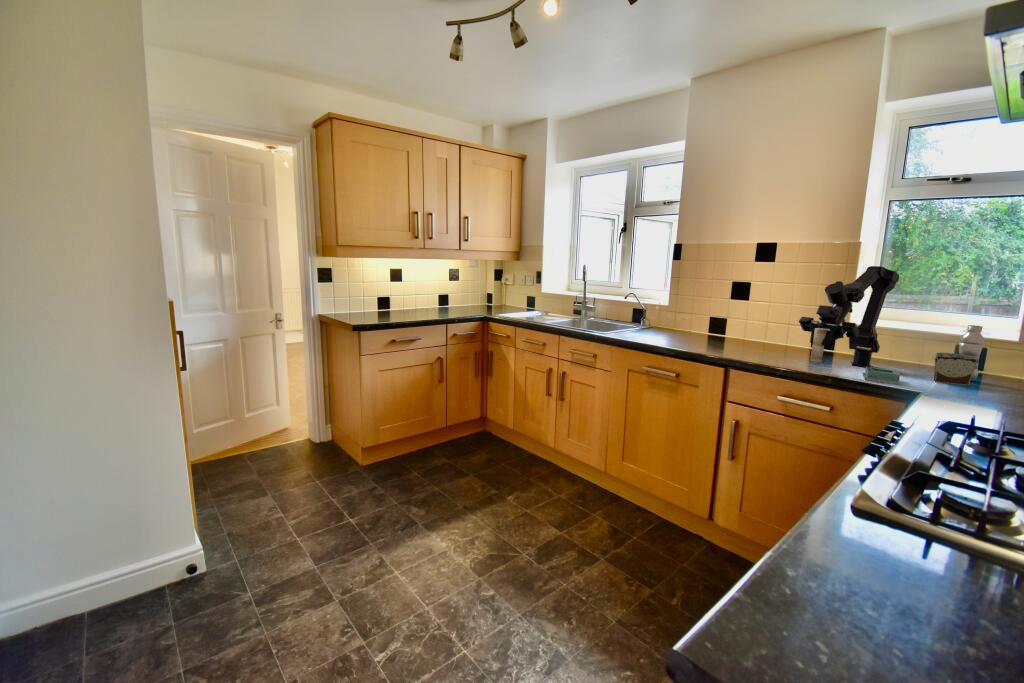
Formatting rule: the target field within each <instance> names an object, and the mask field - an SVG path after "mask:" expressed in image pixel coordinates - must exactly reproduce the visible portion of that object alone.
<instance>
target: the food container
mask: <svg viewBox="0 0 1024 683" xmlns="http://www.w3.org/2000/svg"><path fill="white" fill-rule="evenodd" d="M932 360H934V369H933V370H934V372H933V382H934V381H935V382H934V383H939V382H943V383H942V384H949V383H951V385H959V384H961V385H962V386H969V384H970V382H971V381H972V380H971V377H972V374H973V371H974V368H975V366H976V363H978V365H979V363H980V362H979V360H980V359H979V360H978V357H973V356H968V355H961V354H959V353H951V352H936V353H935V354H934V355H933V356H932ZM970 380H971V381H970Z"/></svg>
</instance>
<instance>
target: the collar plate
mask: <svg viewBox="0 0 1024 683" xmlns="http://www.w3.org/2000/svg"><path fill="white" fill-rule="evenodd" d="M862 374H863V375H862V377H863V379H866V380H865V381H868V380H872V381H871V382H876V381H880V382H879V383H883V382H886V383H885V384H890V383H894V384H893V385H897V384H901V385H902V381H901V380H900V377H901V374H900V373H899V372H898V371H897V370H896V369H895V370H894V369H889V368H882V367H881V368H880V367H873V366H872V367H865V372H862Z"/></svg>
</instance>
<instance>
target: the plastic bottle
mask: <svg viewBox="0 0 1024 683" xmlns="http://www.w3.org/2000/svg"><path fill="white" fill-rule="evenodd" d="M966 331H967V332H965V333H964V334H963V335H961V336H960V337H959V340H958V341H959V345H958V354H961V355H968V356H973V357H978V360H980V356H981V352H982V350H983V348H984V345H985V342H986V341H985V338H984V336H983V335H982V333H981V332H983V326H982V325H975V324H974V325H967V328H966ZM978 368H979V364H978V363H976V366H975V368H974V371H973V374H972V377H971V380H970V382H971V381H975V380H977V378H978V376H979V369H978Z"/></svg>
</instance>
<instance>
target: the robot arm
mask: <svg viewBox="0 0 1024 683" xmlns="http://www.w3.org/2000/svg"><path fill="white" fill-rule="evenodd" d="M899 279H900V274H899V273H898V272H897V271H896V270H892V269H888V268H886V267H885V266H878V265H877V266H876V265H871V266H868V267H867V268H866V270H865V271H864V272H863V273H862V274H861V275H859V277H857V278H856V279H855V280H854V281H852V282H850V283H845V284H844V283H843V281H840V280H838V281H837V280H836V281H835V282H834V283H831V284H829V285H827V286H826V287H825V288H824V291H825V294H826V297H827V299H828V302H829V304H831V305H830V306H829V305H821V304H819V305H818V308H817V310H816V313H815V314H816V315H818V319H819V321H818V320H816V319H814V317H809V316H802V317H800V318H799V320H798V323H799V325H800V328H801V329H802V331H804V332H808V333H810V334H811V335H810V339H809V343H810V344H811V345H813V338H814V332H815V328H820V329H827V330H828V333H826V337H825V338H824V340H823V342H822V345H823V346H824V347H825V346H827V345H828V344H829V343H832V342H835V341H837V340H839V339H843V338H844V335H845V336H846V338H848V348H849V350H854V351H853V358H852V361H850V365H851V364H852V365H851V366H855V365H856V366H857V367H863V366H864V367H865V368H866V367H873V366H872V364H871V361H872V355H873V353H874V354H875V353H876V354H878V353H879V351H880V348H881V346H880V343H879V340H878V333H877V331H876V330H877V329H876V326H877V323H878V321H879V318H880V314H881V312H882V308H883V306H884V303H885V300H886V298H887V296H888V295H887V294H889V293H890V292H891V291H892V290H894V289H895V287H896V285H897V284H898V282H899V281H900V280H899ZM870 287H871V289H872V291H871V294H870V296H869V300H868V301H867V302H868V303H867V305H866V308H865V311H864V312H863V317H862V319H861V322H860V324H858V325H857V323H856V322H849V321H846V319H845V318H846V317H847V315H848V314H849V313H853V304H852V303H856V304H857V303H860V302H861V301H862V300H863V299H864V298H865V292H866V290H867V289H868V288H870Z"/></svg>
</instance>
